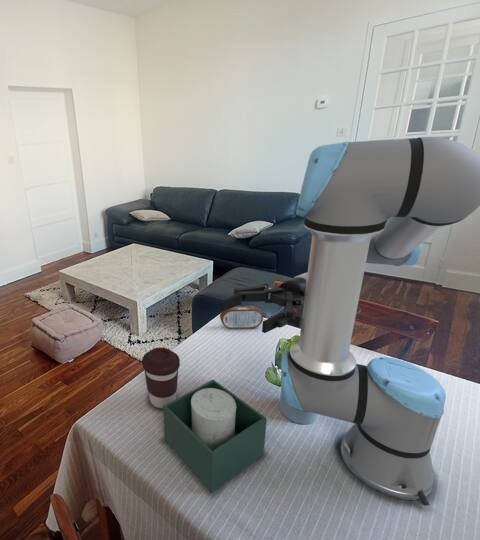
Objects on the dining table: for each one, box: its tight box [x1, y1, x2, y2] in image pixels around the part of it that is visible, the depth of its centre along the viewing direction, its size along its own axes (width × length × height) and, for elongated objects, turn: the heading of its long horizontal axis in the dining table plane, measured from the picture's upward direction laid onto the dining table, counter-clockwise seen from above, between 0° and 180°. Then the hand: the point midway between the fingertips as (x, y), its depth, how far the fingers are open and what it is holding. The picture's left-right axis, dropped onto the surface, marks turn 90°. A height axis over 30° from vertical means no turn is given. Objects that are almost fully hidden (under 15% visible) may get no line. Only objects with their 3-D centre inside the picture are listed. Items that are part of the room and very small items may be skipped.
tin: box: [219, 305, 264, 329], centre depth 123 cm, size 15×3×8 cm, turn 84°
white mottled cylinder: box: [191, 388, 236, 451], centre depth 76 cm, size 10×10×12 cm
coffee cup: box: [141, 346, 181, 409], centre depth 91 cm, size 10×10×15 cm
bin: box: [162, 379, 268, 494], centre depth 76 cm, size 16×16×11 cm
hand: (241, 316), depth 79 cm, fingers open, 12 cm apart
